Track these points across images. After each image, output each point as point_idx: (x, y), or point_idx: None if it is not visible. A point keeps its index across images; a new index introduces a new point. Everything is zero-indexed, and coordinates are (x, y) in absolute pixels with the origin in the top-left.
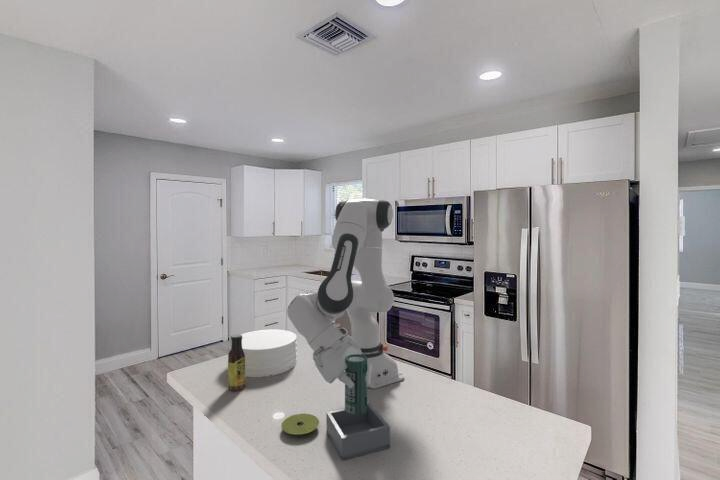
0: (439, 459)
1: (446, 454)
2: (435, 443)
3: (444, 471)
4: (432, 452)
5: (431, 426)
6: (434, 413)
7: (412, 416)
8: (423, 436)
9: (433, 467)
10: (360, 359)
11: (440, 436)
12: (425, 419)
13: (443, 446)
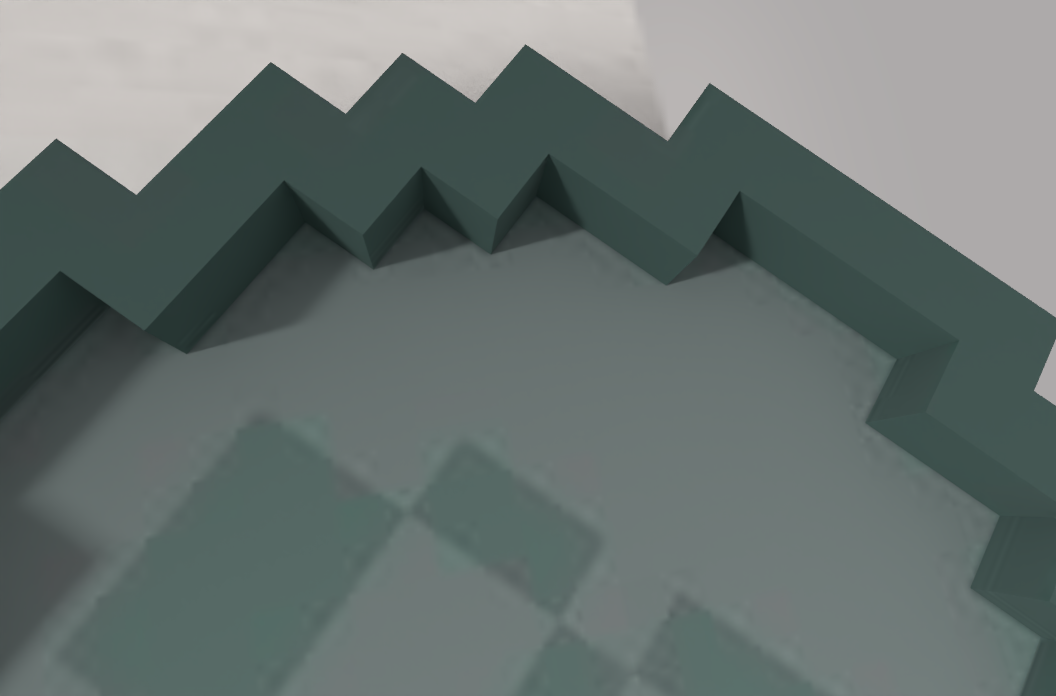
0: (543, 42)
1: (495, 5)
2: (405, 46)
3: (627, 31)
4: (491, 69)
5: (219, 50)
6: (38, 16)
7: (91, 161)
8: (343, 104)
9: (610, 75)
10: (472, 488)
11: (329, 13)
12: (129, 79)
13: (426, 10)
